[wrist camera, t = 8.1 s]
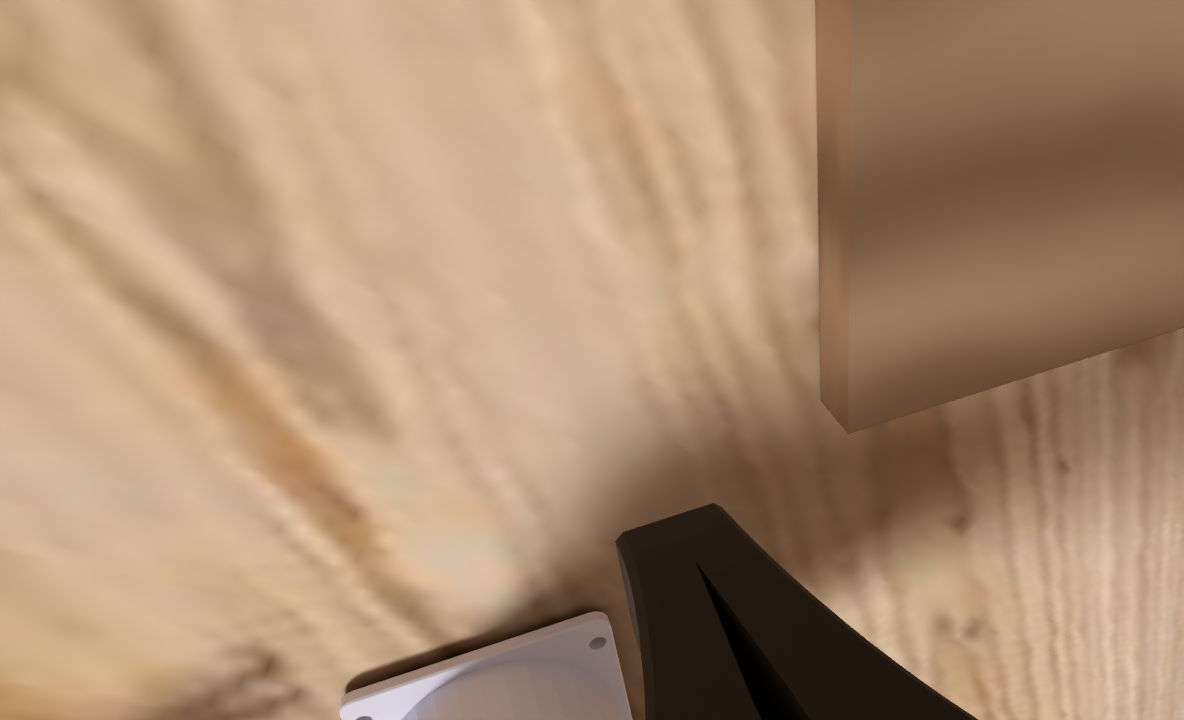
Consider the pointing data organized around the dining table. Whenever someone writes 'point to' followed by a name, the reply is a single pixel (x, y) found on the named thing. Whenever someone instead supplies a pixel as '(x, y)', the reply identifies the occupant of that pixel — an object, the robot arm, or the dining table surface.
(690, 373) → the dining table surface
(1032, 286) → the walnut board
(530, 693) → the robot arm
